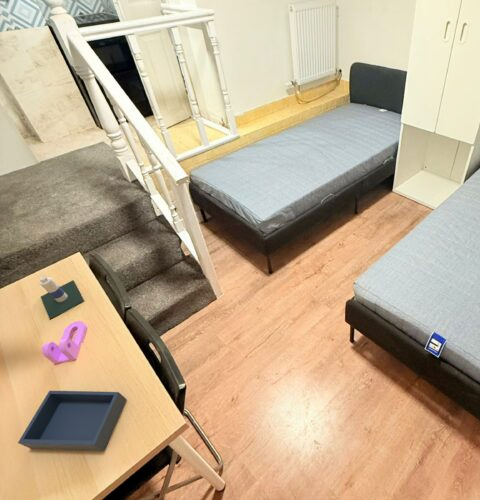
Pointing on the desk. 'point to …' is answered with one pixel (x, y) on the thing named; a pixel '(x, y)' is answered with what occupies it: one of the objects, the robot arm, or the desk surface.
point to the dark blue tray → (74, 421)
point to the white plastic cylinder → (53, 289)
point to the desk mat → (58, 308)
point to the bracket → (66, 344)
